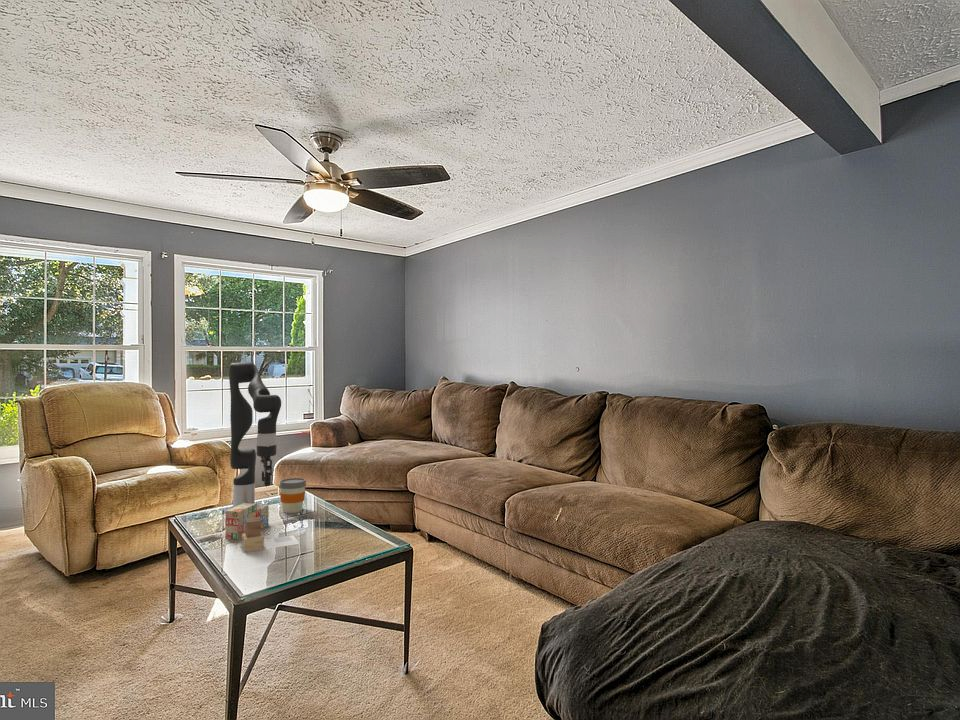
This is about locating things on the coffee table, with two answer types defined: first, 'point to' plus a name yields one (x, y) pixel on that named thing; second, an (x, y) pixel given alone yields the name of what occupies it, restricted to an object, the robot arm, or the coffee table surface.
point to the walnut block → (253, 527)
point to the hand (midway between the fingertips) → (265, 483)
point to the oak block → (252, 543)
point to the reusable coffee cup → (292, 494)
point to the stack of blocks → (244, 518)
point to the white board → (274, 543)
